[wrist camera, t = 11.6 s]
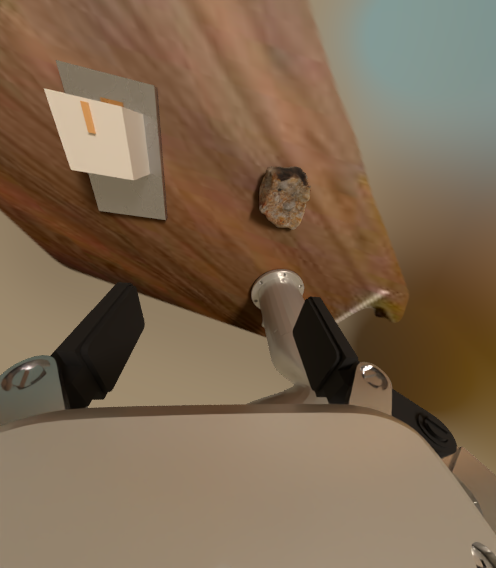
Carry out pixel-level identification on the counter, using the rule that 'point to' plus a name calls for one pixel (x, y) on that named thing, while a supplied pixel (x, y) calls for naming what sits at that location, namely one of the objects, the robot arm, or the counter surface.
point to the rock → (284, 196)
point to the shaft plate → (144, 99)
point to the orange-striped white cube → (100, 136)
